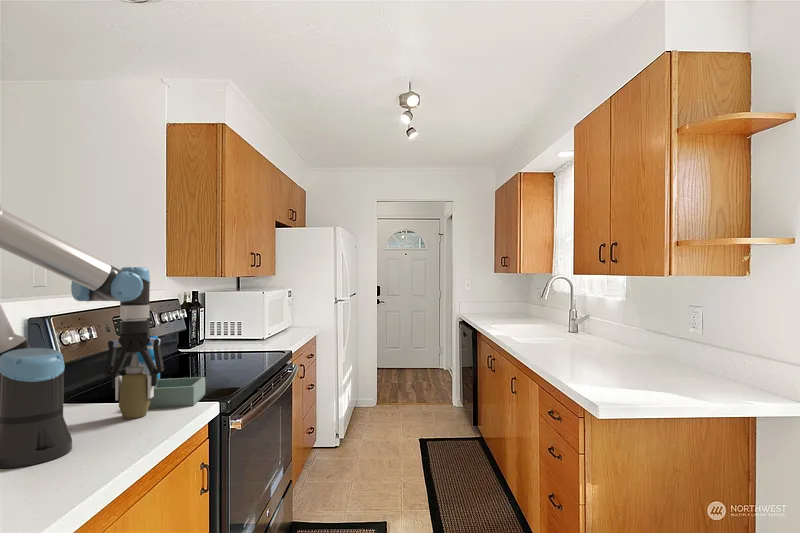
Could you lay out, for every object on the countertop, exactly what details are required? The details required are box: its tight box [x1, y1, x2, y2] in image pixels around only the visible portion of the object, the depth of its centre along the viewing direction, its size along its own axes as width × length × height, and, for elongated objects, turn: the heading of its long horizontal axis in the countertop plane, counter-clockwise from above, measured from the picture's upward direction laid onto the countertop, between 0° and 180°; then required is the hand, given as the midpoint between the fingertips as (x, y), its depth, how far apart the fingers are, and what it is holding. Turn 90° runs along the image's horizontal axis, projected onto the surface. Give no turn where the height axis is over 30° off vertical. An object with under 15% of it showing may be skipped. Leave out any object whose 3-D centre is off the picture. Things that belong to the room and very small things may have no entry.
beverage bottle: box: [134, 335, 161, 379], centre depth 169 cm, size 8×8×20 cm
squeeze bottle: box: [118, 353, 150, 420], centre depth 138 cm, size 8×8×18 cm
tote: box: [148, 376, 206, 409], centre depth 156 cm, size 16×16×6 cm
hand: (134, 398), depth 138 cm, fingers open, 8 cm apart
